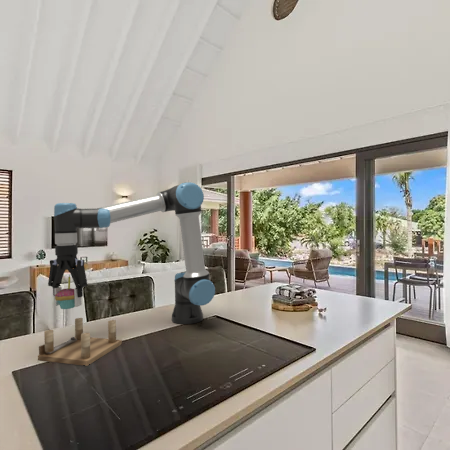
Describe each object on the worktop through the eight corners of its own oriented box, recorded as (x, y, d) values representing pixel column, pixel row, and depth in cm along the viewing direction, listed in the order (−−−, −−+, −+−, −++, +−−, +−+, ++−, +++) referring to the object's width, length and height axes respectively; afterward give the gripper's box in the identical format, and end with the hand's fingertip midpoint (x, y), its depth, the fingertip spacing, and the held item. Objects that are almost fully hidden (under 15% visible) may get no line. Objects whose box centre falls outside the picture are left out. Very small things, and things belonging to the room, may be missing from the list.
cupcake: (61, 305, 125) (60, 274, 125) (84, 304, 125) (83, 273, 125) (50, 311, 116) (50, 277, 116) (75, 310, 117) (74, 277, 117)
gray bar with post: (77, 340, 125) (77, 320, 125) (49, 354, 112) (49, 332, 112) (71, 339, 126) (71, 320, 126) (42, 353, 113) (42, 331, 113)
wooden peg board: (121, 344, 126) (121, 319, 126) (87, 365, 107) (86, 337, 107) (78, 340, 131) (77, 316, 131) (37, 360, 112) (37, 332, 112)
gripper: (97, 243, 121) (98, 304, 121) (51, 244, 127) (53, 301, 127) (83, 245, 114) (85, 309, 114) (35, 245, 120) (37, 306, 120)
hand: (68, 305), depth 121 cm, fingers closed on cupcake, 8 cm apart
